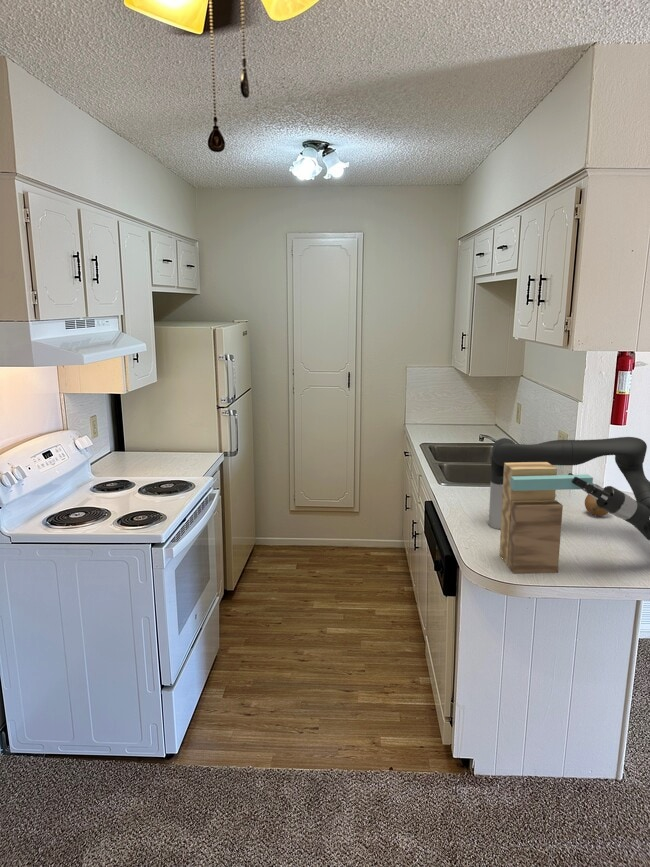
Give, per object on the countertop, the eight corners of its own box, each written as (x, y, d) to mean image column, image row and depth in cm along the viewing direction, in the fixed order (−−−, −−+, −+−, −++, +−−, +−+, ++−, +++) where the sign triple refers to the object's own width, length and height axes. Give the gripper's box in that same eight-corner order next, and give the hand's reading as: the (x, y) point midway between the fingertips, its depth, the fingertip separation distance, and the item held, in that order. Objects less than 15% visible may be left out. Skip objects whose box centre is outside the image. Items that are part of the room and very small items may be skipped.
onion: (611, 513, 238) (613, 489, 235) (610, 521, 229) (612, 496, 227) (584, 509, 242) (586, 486, 240) (582, 517, 233) (584, 492, 231)
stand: (499, 555, 199) (504, 462, 193) (540, 554, 200) (547, 461, 193) (507, 565, 192) (512, 469, 185) (550, 564, 192) (557, 468, 185)
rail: (510, 487, 184) (510, 476, 183) (586, 485, 185) (587, 474, 184) (513, 490, 181) (514, 479, 180) (592, 488, 181) (592, 477, 180)
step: (508, 566, 191) (511, 501, 186) (551, 565, 191) (556, 500, 186) (513, 573, 186) (517, 506, 181) (557, 572, 186) (562, 505, 181)
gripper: (612, 486, 190) (567, 461, 188) (635, 500, 177) (588, 473, 174) (599, 505, 192) (554, 481, 190) (621, 521, 178) (573, 495, 176)
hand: (571, 477), depth 182 cm, fingers closed on rail, 3 cm apart
